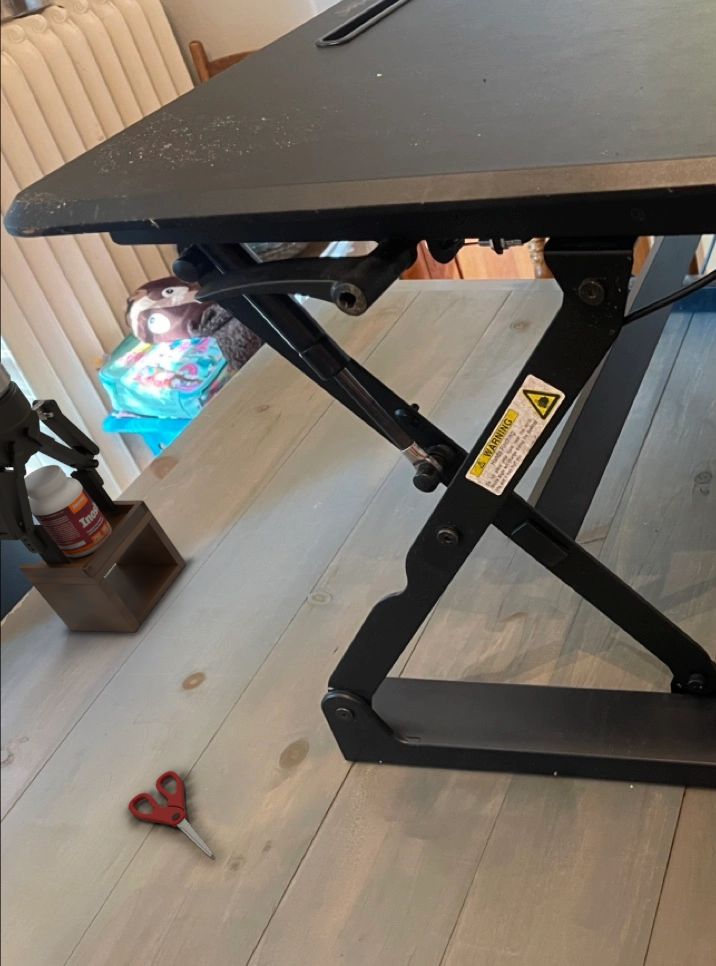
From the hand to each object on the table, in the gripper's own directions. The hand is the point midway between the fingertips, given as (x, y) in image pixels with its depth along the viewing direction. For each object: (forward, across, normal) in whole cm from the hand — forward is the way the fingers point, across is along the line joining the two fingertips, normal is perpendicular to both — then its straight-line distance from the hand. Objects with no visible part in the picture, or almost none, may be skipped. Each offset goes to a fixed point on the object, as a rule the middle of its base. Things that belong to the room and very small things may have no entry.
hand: (84, 536), depth 134 cm
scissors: (+11, -31, -28) cm, 43 cm away
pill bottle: (+1, 0, 0) cm, 1 cm away
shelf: (+11, 0, 0) cm, 11 cm away
